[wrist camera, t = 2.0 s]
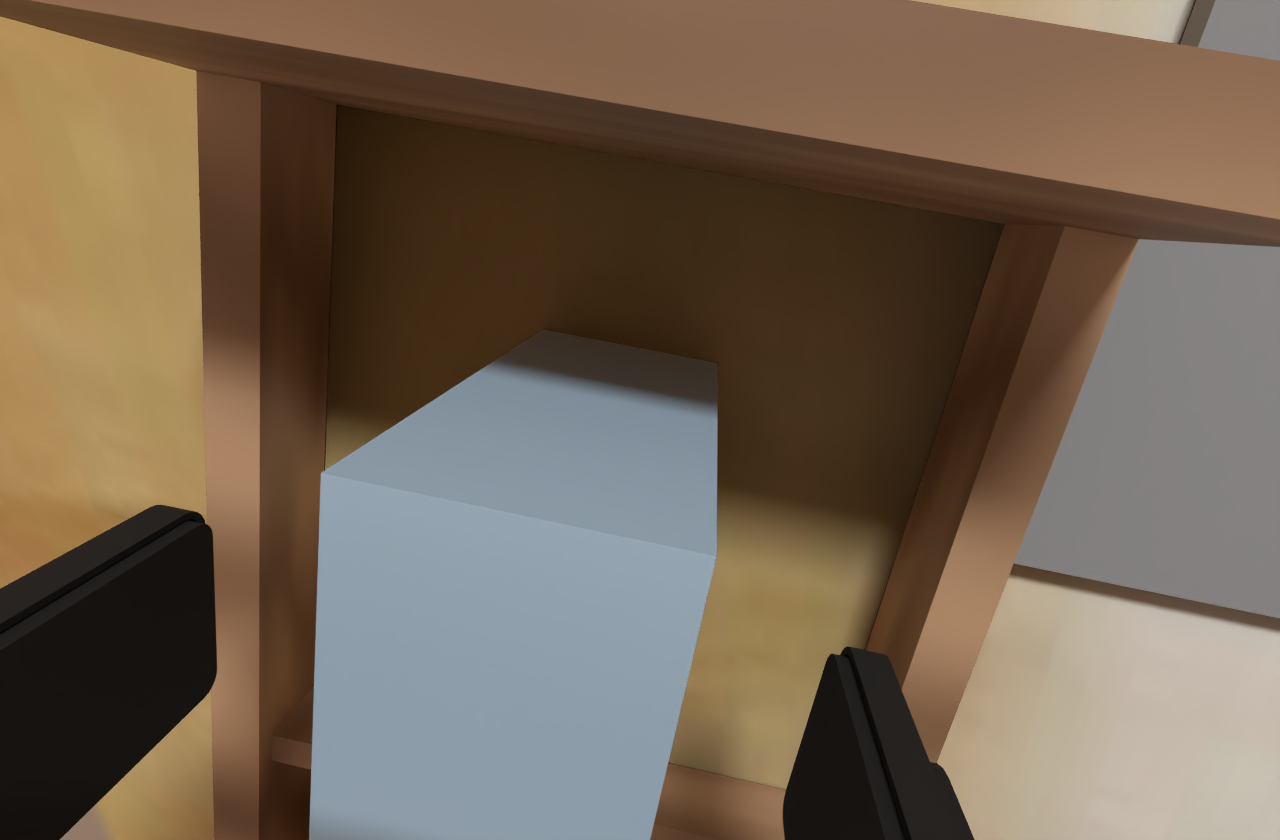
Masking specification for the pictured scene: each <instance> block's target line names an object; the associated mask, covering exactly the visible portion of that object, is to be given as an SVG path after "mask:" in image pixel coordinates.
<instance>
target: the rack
mask: <svg viewBox="0 0 1280 840" xmlns="http://www.w3.org/2000/svg"><path fill="white" fill-rule="evenodd" d="M0 16H1V17H5V18H9V19H12V20H16V21H19V22H23V23H27V24H30V25H34V26H37V27H41V28H45V29H48V30H52V31H55V32H59V33H63V34H66V35H70V36H73V37H77V38H81V39H84V40H88V41H91V42H95V43H99V44H102V45H106V46H109V47H113V48H117V49H120V50H124V51H127V52H131V53H135V54H138V55H142V56H146V57H149V58H153V59H156V60H160V61H164V62H167V63H171V64H174V65H178V66H182V67H185V68H189V69H192V70H196V71H197V113H198V156H199V199H200V241H201V284H202V326H203V369H204V411H205V454H206V496H207V525H209V526H210V527H211V529H212V532H213V551H214V582H215V613H216V644H217V676H216V679H215V682H214V684H213V686H212V688H211V709H212V751H213V794H214V836H215V840H309V827H310V796H311V764H312V733H313V702H314V671H315V640H316V609H317V578H318V547H319V516H320V485H321V473H322V472H323V471H324V461H325V432H326V403H327V373H328V344H329V314H330V285H331V255H332V226H333V197H334V167H335V138H336V108H337V104H338V105H344V106H349V107H355V108H360V109H366V110H371V111H377V112H383V113H388V114H394V115H399V116H405V117H410V118H416V119H422V120H427V121H433V122H438V123H444V124H449V125H455V126H461V127H466V128H472V129H477V130H483V131H488V132H494V133H500V134H505V135H511V136H516V137H522V138H527V139H533V140H538V141H544V142H550V143H555V144H561V145H566V146H572V147H577V148H583V149H589V150H594V151H600V152H605V153H611V154H616V155H622V156H628V157H633V158H639V159H644V160H650V161H655V162H661V163H667V164H672V165H678V166H683V167H689V168H694V169H700V170H706V171H711V172H717V173H722V174H728V175H733V176H739V177H745V178H750V179H756V180H761V181H767V182H772V183H778V184H784V185H789V186H795V187H800V188H806V189H811V190H817V191H823V192H828V193H834V194H839V195H845V196H850V197H856V198H862V199H867V200H873V201H878V202H884V203H889V204H895V205H901V206H906V207H912V208H917V209H923V210H928V211H934V212H940V213H945V214H951V215H956V216H962V217H967V218H973V219H979V220H984V221H990V222H995V223H1001V224H1004V227H1003V230H1002V233H1001V236H1000V239H999V242H998V245H997V248H996V251H995V254H994V258H993V261H992V264H991V267H990V270H989V273H988V276H987V279H986V282H985V285H984V288H983V291H982V294H981V297H980V301H979V304H978V307H977V310H976V313H975V316H974V319H973V322H972V325H971V328H970V331H969V334H968V337H967V340H966V344H965V347H964V350H963V353H962V356H961V359H960V362H959V365H958V368H957V371H956V374H955V377H954V380H953V383H952V386H951V390H950V393H949V396H948V399H947V402H946V405H945V408H944V411H943V414H942V417H941V420H940V423H939V426H938V429H937V433H936V436H935V439H934V442H933V445H932V448H931V451H930V454H929V457H928V460H927V463H926V466H925V469H924V472H923V476H922V479H921V482H920V485H919V488H918V491H917V494H916V497H915V500H914V503H913V506H912V509H911V512H910V515H909V519H908V522H907V525H906V528H905V531H904V534H903V537H902V540H901V543H900V546H899V549H898V552H897V555H896V558H895V562H894V565H893V568H892V571H891V574H890V577H889V580H888V583H887V586H886V589H885V592H884V595H883V598H882V601H881V605H880V608H879V611H878V614H877V617H876V620H875V623H874V626H873V629H872V632H871V635H870V638H869V641H868V644H867V647H866V650H867V651H872V652H876V653H881V654H885V655H887V656H888V658H889V660H890V662H891V664H892V667H893V669H894V672H895V675H896V677H897V680H898V682H899V685H900V687H901V690H902V692H903V695H904V697H905V700H906V702H907V705H908V708H909V710H910V713H911V715H912V718H913V720H914V723H915V725H916V728H917V730H918V733H919V735H920V738H921V740H922V743H923V746H924V748H925V751H926V753H927V756H928V758H929V761H930V762H933V763H937V760H938V758H939V755H940V753H941V750H942V747H943V745H944V742H945V740H946V737H947V735H948V732H949V729H950V727H951V724H952V722H953V719H954V716H955V714H956V711H957V709H958V706H959V703H960V701H961V698H962V696H963V693H964V691H965V688H966V685H967V683H968V680H969V678H970V675H971V672H972V670H973V667H974V665H975V662H976V660H977V657H978V654H979V652H980V649H981V647H982V644H983V641H984V639H985V636H986V634H987V631H988V628H989V626H990V623H991V621H992V618H993V616H994V613H995V610H996V608H997V605H998V603H999V600H1000V597H1001V595H1002V592H1003V590H1004V587H1005V585H1006V582H1007V579H1008V577H1009V574H1010V572H1011V569H1012V566H1013V564H1014V561H1015V559H1016V556H1017V553H1018V551H1019V548H1020V546H1021V543H1022V541H1023V538H1024V535H1025V533H1026V530H1027V528H1028V525H1029V522H1030V520H1031V517H1032V515H1033V512H1034V510H1035V507H1036V504H1037V502H1038V499H1039V497H1040V494H1041V491H1042V489H1043V486H1044V484H1045V481H1046V478H1047V476H1048V473H1049V471H1050V468H1051V466H1052V463H1053V460H1054V458H1055V455H1056V453H1057V450H1058V447H1059V445H1060V442H1061V440H1062V437H1063V434H1064V432H1065V429H1066V427H1067V424H1068V422H1069V419H1070V416H1071V414H1072V411H1073V409H1074V406H1075V403H1076V401H1077V398H1078V396H1079V393H1080V391H1081V388H1082V385H1083V383H1084V380H1085V378H1086V375H1087V372H1088V370H1089V367H1090V365H1091V362H1092V359H1093V357H1094V354H1095V352H1096V349H1097V347H1098V344H1099V341H1100V339H1101V336H1102V334H1103V331H1104V328H1105V326H1106V323H1107V321H1108V318H1109V316H1110V313H1111V310H1112V308H1113V305H1114V303H1115V300H1116V297H1117V295H1118V292H1119V290H1120V287H1121V284H1122V282H1123V279H1124V277H1125V274H1126V272H1127V269H1128V266H1129V264H1130V261H1131V259H1132V256H1133V253H1134V251H1135V248H1136V246H1137V243H1138V241H1139V239H1145V240H1163V241H1180V242H1198V243H1216V244H1234V245H1252V246H1270V247H1280V61H1278V60H1272V59H1266V58H1260V57H1254V56H1248V55H1241V54H1235V53H1229V52H1223V51H1217V50H1211V49H1205V48H1198V47H1192V46H1186V45H1180V44H1174V43H1168V42H1162V41H1155V40H1149V39H1143V38H1137V37H1131V36H1125V35H1119V34H1112V33H1106V32H1100V31H1094V30H1088V29H1082V28H1076V27H1069V26H1063V25H1057V24H1051V23H1045V22H1039V21H1033V20H1026V19H1020V18H1014V17H1008V16H1002V15H996V14H990V13H984V12H977V11H971V10H965V9H959V8H953V7H947V6H941V5H934V4H928V3H922V2H916V1H910V0H0ZM785 792H786V790H784V789H779V788H775V787H770V786H766V785H762V784H757V783H753V782H749V781H744V780H740V779H735V778H731V777H727V776H722V775H718V774H714V773H709V772H705V771H701V770H696V769H692V768H687V767H683V766H679V765H674V764H670V763H668V766H667V770H666V774H665V778H664V783H663V787H662V791H661V795H660V800H659V804H658V808H657V812H656V817H655V821H654V825H653V830H652V834H651V838H650V840H785V837H784V828H783V802H784V796H785Z"/></svg>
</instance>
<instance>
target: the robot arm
mask: <svg viewBox="0 0 1280 840" xmlns="http://www.w3.org/2000/svg"><path fill="white" fill-rule="evenodd" d="M216 676H217V644H216V613H215V582H214V551H213V532H212V529H211V527H210V526H209V525H207V524H205V520H204V518H203V517H202V515H201V514H199V513H197V512H194V511H189V510H184V509H179V508H175V507H170V506H165V505H155V506H153V507H150V508H148V509H146V510H144V511H142V512H141V513H139V514H137V515H135V516H133V517H131V518H130V519H128V520H126V521H124V522H122V523H120V524H119V525H117V526H115V527H113V528H111V529H109V530H108V531H106V532H104V533H102V534H100V535H98V536H96V537H95V538H93V539H91V540H89V541H87V542H85V543H84V544H82V545H80V546H78V547H76V548H74V549H73V550H71V551H69V552H67V553H65V554H63V555H62V556H60V557H58V558H56V559H54V560H52V561H51V562H49V563H47V564H45V565H43V566H41V567H40V568H38V569H36V570H34V571H32V572H30V573H28V574H27V575H25V576H23V577H21V578H19V579H17V580H16V581H14V582H12V583H10V584H8V585H6V586H5V587H3V588H1V589H0V840H60V839H61V838H62V837H63V836H64V835H65V834H66V833H67V832H68V831H69V830H70V829H71V828H72V827H73V826H74V825H75V824H76V823H77V822H78V821H79V820H80V819H81V818H82V817H83V816H84V815H85V814H86V813H87V812H88V811H89V810H90V809H91V808H92V807H93V806H94V805H95V804H96V803H97V802H98V801H99V800H100V799H101V798H103V797H104V796H105V795H106V794H107V793H108V792H109V791H110V790H111V789H112V788H113V787H114V786H115V785H116V784H117V783H118V782H119V781H120V780H121V779H122V778H123V777H124V776H125V775H126V774H127V773H128V772H129V771H130V770H131V769H132V768H133V767H134V766H135V765H136V764H137V763H138V762H139V761H140V760H141V759H142V758H143V757H144V756H145V755H146V754H147V753H148V752H149V751H151V750H152V749H153V748H154V747H155V746H156V745H157V744H158V743H159V742H160V741H161V740H162V739H163V738H164V737H165V736H166V735H167V734H168V733H169V732H170V731H171V730H172V729H173V728H174V727H175V726H176V725H177V724H178V723H179V722H180V721H181V720H182V719H183V718H184V717H185V716H186V715H187V714H188V713H189V712H190V711H191V710H192V709H193V708H194V707H195V706H196V705H197V704H199V703H200V702H201V701H202V700H203V699H204V698H205V696H206V695H207V694H208V693H209V691H210V690H211V688H212V686H213V684H214V682H215V679H216ZM783 828H784V837H785V840H974V838H973V835H972V833H971V830H970V828H969V826H968V823H967V821H966V818H965V816H964V814H963V811H962V809H961V806H960V804H959V802H958V799H957V797H956V794H955V792H954V790H953V787H952V785H951V782H950V780H949V778H948V776H947V774H946V772H945V771H944V769H943V768H942V767H941V766H940V765H938V764H937V763H933V762H930V761H929V758H928V756H927V753H926V751H925V748H924V746H923V743H922V740H921V738H920V735H919V733H918V730H917V728H916V725H915V723H914V720H913V718H912V715H911V713H910V710H909V708H908V705H907V702H906V700H905V697H904V695H903V692H902V690H901V687H900V685H899V682H898V680H897V677H896V675H895V672H894V669H893V667H892V664H891V662H890V660H889V658H888V656H887V655H885V654H881V653H876V652H872V651H867V650H862V649H857V648H852V647H845V648H844V649H843V651H842V652H841V655H835V654H830V655H829V657H828V659H827V661H826V664H825V667H824V671H823V674H822V677H821V680H820V683H819V686H818V690H817V693H816V696H815V699H814V702H813V706H812V709H811V712H810V715H809V718H808V722H807V725H806V728H805V731H804V734H803V738H802V741H801V744H800V747H799V750H798V754H797V757H796V760H795V763H794V766H793V770H792V773H791V776H790V779H789V782H788V786H787V789H786V792H785V796H784V802H783Z"/></svg>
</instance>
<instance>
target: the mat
mask: <svg viewBox="0 0 1280 840" xmlns="http://www.w3.org/2000/svg"><path fill="white" fill-rule="evenodd" d="M1180 45H1186V46H1192V47H1198V48H1205V49H1211V50H1217V51H1223V52H1229V53H1235V54H1241V55H1248V56H1254V57H1260V58H1266V59H1272V60H1278V61H1280V0H1196V2H1195V5H1194V8H1193V10H1192V13H1191V16H1190V18H1189V21H1188V24H1187V26H1186V29H1185V32H1184V34H1183V37H1182V40H1181V42H1180ZM1014 564H1019V565H1023V566H1028V567H1033V568H1038V569H1043V570H1048V571H1053V572H1057V573H1062V574H1067V575H1072V576H1077V577H1082V578H1086V579H1091V580H1096V581H1101V582H1106V583H1111V584H1115V585H1120V586H1125V587H1130V588H1135V589H1140V590H1145V591H1149V592H1154V593H1159V594H1164V595H1169V596H1174V597H1178V598H1183V599H1188V600H1193V601H1198V602H1203V603H1207V604H1212V605H1217V606H1222V607H1227V608H1232V609H1237V610H1241V611H1246V612H1251V613H1256V614H1261V615H1266V616H1270V617H1275V618H1280V247H1270V246H1252V245H1234V244H1216V243H1198V242H1180V241H1163V240H1145V239H1139V241H1138V243H1137V246H1136V248H1135V251H1134V253H1133V256H1132V259H1131V261H1130V264H1129V266H1128V269H1127V272H1126V274H1125V277H1124V279H1123V282H1122V284H1121V287H1120V290H1119V292H1118V295H1117V297H1116V300H1115V303H1114V305H1113V308H1112V310H1111V313H1110V316H1109V318H1108V321H1107V323H1106V326H1105V328H1104V331H1103V334H1102V336H1101V339H1100V341H1099V344H1098V347H1097V349H1096V352H1095V354H1094V357H1093V359H1092V362H1091V365H1090V367H1089V370H1088V372H1087V375H1086V378H1085V380H1084V383H1083V385H1082V388H1081V391H1080V393H1079V396H1078V398H1077V401H1076V403H1075V406H1074V409H1073V411H1072V414H1071V416H1070V419H1069V422H1068V424H1067V427H1066V429H1065V432H1064V434H1063V437H1062V440H1061V442H1060V445H1059V447H1058V450H1057V453H1056V455H1055V458H1054V460H1053V463H1052V466H1051V468H1050V471H1049V473H1048V476H1047V478H1046V481H1045V484H1044V486H1043V489H1042V491H1041V494H1040V497H1039V499H1038V502H1037V504H1036V507H1035V510H1034V512H1033V515H1032V517H1031V520H1030V522H1029V525H1028V528H1027V530H1026V533H1025V535H1024V538H1023V541H1022V543H1021V546H1020V548H1019V551H1018V553H1017V556H1016V559H1015V561H1014Z"/></svg>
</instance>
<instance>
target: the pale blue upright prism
mask: <svg viewBox="0 0 1280 840" xmlns="http://www.w3.org/2000/svg"><path fill="white" fill-rule="evenodd" d="M717 432H718V363H714V362H709V361H704V360H699V359H694V358H688V357H683V356H678V355H673V354H668V353H663V352H658V351H653V350H647V349H642V348H637V347H632V346H627V345H622V344H617V343H612V342H606V341H601V340H596V339H591V338H586V337H581V336H576V335H571V334H566V333H560V332H555V331H550V330H545V329H543V330H541V331H540V332H538V333H536V334H535V335H533V336H532V337H530V338H529V339H527V340H526V341H524V342H523V343H521V344H519V345H518V346H516V347H515V348H513V349H512V350H510V351H509V352H507V353H506V354H504V355H502V356H501V357H499V358H498V359H496V360H495V361H493V362H492V363H490V364H489V365H487V366H485V367H484V368H482V369H481V370H479V371H478V372H476V373H475V374H473V375H472V376H470V377H468V378H467V379H465V380H464V381H462V382H461V383H459V384H458V385H456V386H455V387H453V388H451V389H450V390H448V391H447V392H445V393H444V394H442V395H441V396H439V397H437V398H436V399H434V400H433V401H431V402H430V403H428V404H427V405H425V406H424V407H422V408H420V409H419V410H417V411H416V412H414V413H413V414H411V415H410V416H408V417H407V418H405V419H403V420H402V421H400V422H399V423H397V424H396V425H394V426H393V427H391V428H390V429H388V430H386V431H385V432H383V433H382V434H380V435H379V436H377V437H376V438H374V439H373V440H371V441H369V442H368V443H366V444H365V445H363V446H362V447H360V448H359V449H357V450H356V451H354V452H352V453H351V454H349V455H348V456H346V457H345V458H343V459H342V460H340V461H339V462H337V463H335V464H334V465H332V466H331V467H329V468H328V469H326V470H325V471H323V472H322V473H321V485H320V516H319V547H318V578H317V609H316V640H315V671H314V702H313V733H312V764H311V796H310V827H309V840H650V838H651V834H652V830H653V825H654V821H655V817H656V812H657V808H658V804H659V800H660V795H661V791H662V787H663V783H664V778H665V774H666V770H667V766H668V761H669V757H670V753H671V749H672V744H673V740H674V736H675V731H676V727H677V723H678V719H679V714H680V710H681V706H682V702H683V697H684V693H685V689H686V685H687V680H688V676H689V672H690V668H691V663H692V659H693V655H694V651H695V646H696V642H697V638H698V633H699V629H700V625H701V621H702V616H703V612H704V608H705V604H706V599H707V595H708V591H709V587H710V582H711V578H712V574H713V570H714V565H715V561H716V557H717Z"/></svg>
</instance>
